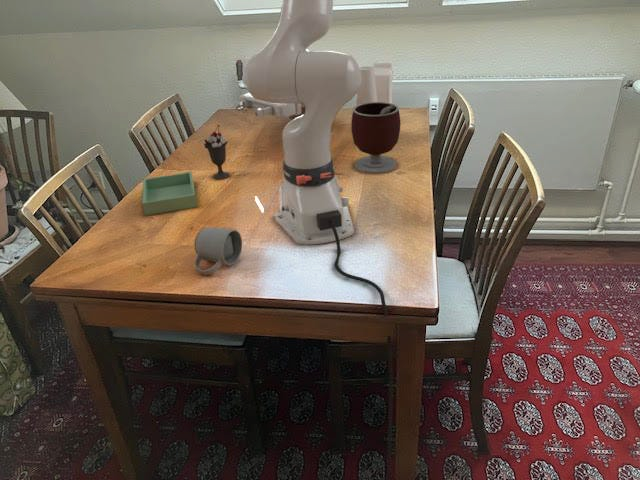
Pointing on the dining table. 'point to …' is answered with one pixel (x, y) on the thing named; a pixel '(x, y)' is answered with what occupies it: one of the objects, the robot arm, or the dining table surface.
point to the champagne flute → (366, 86)
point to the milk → (383, 82)
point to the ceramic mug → (217, 247)
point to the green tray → (168, 193)
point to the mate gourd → (375, 135)
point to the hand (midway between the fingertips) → (246, 110)
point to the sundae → (217, 152)
